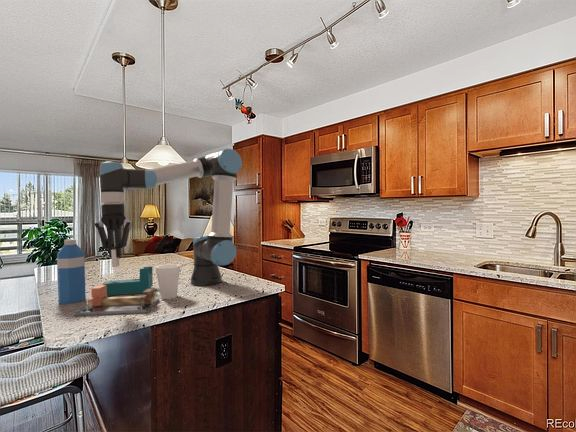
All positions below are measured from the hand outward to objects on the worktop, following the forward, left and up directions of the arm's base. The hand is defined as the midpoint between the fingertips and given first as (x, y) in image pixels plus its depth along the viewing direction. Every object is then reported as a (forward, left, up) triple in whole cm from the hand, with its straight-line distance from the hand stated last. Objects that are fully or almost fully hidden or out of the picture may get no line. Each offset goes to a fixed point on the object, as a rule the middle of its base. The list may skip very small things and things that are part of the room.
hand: (115, 266), depth 117 cm
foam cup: (-16, -11, -16) cm, 25 cm away
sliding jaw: (+6, +2, -14) cm, 15 cm away
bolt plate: (-2, +2, -15) cm, 16 cm away
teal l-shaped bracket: (+5, -23, -16) cm, 29 cm away
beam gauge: (-2, +2, -14) cm, 14 cm away
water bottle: (+23, -12, -16) cm, 31 cm away
